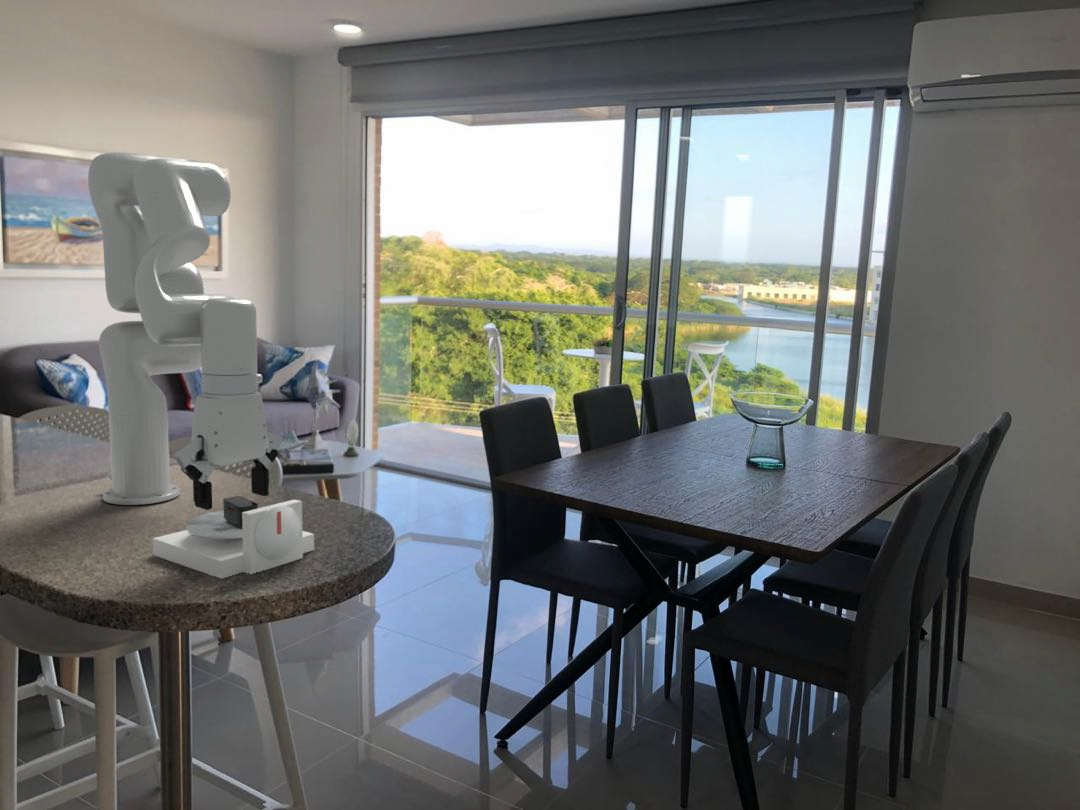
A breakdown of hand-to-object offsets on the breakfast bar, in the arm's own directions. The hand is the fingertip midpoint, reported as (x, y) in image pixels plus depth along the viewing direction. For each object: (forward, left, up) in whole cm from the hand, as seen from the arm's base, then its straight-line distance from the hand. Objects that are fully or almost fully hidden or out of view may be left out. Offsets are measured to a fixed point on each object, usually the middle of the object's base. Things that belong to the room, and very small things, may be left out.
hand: (232, 500), depth 128 cm
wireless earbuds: (+3, 0, -3) cm, 4 cm away
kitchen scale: (+1, 0, -8) cm, 8 cm away
